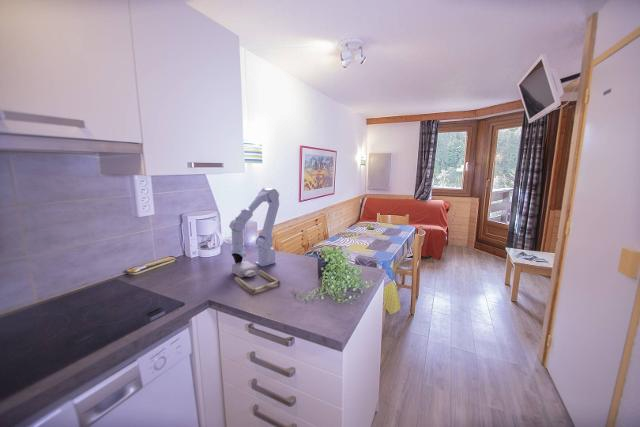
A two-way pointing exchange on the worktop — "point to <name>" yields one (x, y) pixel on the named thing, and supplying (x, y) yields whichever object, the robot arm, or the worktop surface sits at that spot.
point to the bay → (261, 288)
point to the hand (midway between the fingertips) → (238, 265)
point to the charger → (244, 269)
